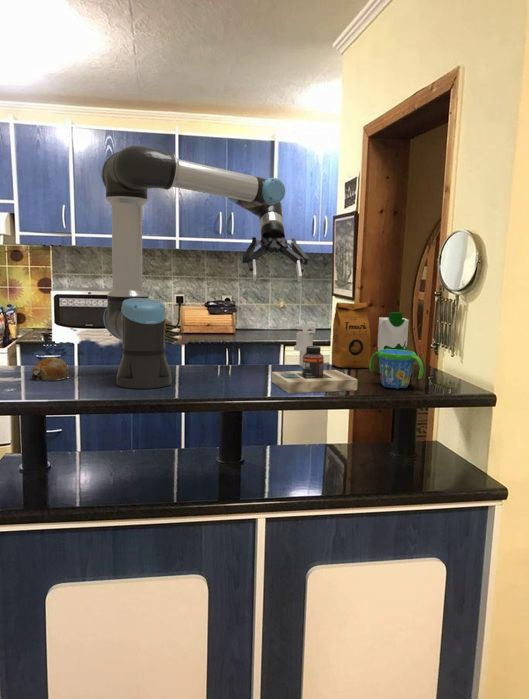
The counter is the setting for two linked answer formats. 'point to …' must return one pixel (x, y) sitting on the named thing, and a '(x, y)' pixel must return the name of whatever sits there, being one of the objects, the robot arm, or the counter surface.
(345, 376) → the birch socket block
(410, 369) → the snack cup
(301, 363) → the pale grey stepped figure
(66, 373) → the bread roll
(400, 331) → the milk carton
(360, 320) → the coffee package
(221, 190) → the robot arm
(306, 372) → the supplement bottle
